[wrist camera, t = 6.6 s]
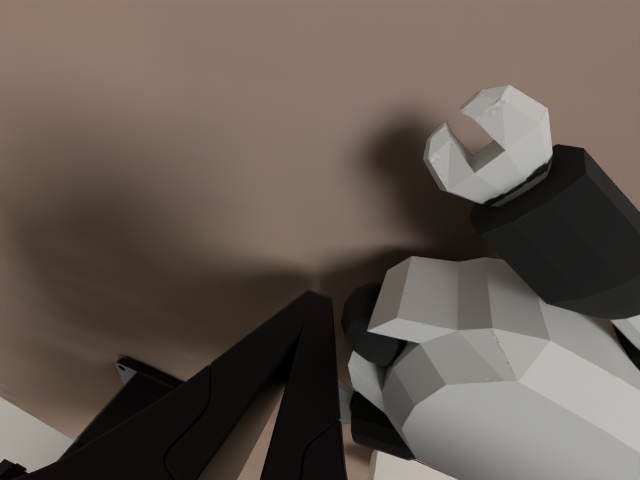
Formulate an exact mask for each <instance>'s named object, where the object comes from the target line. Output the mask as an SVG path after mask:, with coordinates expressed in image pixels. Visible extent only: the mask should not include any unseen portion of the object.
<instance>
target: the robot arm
mask: <svg viewBox="0 0 640 480" xmlns="http://www.w3.org/2000/svg"><path fill="white" fill-rule="evenodd" d="M115 366H116V368H117V371H118V373H119V375H120V378H121V380H122V383H123V385H124V386H123V387H122V388H121V389H120V391H119V392H118V393H117V394H116V395H115V396H114V397H113V398H112V399H111V401H110V402H109V403H108V404H107V405H106V406H105V407H104V408H103V409H102V411H101V412H100V413H99V414H98V415H97V416H96V417H95V418H94V419H93V421H92V422H91V423H90V424H89V425H88V426H87V427H86V428H85V429H84V431H83V432H82V433H81V434H80V435H79V436H78V437H77V439H76V440H75V442H74V443H73V444H72V445H71V446H70V447H69V448H68V449H67V450H66V452H65V453H64V454H63V455H62V456H61V457H60V458H59V459H58V460H57V461H56V462H54V463H52V464H50V465H48V466H46V467H44V468H41V469H39V470H36V471H34V472H31V473H27V472H26V471H27V469H26V468H25V467H23V466H21V465H19V464H18V463H17V464H14V463H12V462H9V461H8V460H6V459H4V460H3V461H2V462H1V463H0V480H237V478H238V476H239V475H240V473H241V471H242V469H243V467H244V465H245V463H246V461H247V459H248V458H249V456H250V454H251V452H252V450H253V448H254V446H255V444H256V442H257V440H258V439H259V437H260V435H261V433H262V431H263V429H264V427H265V425H266V423H267V422H268V420H269V418H270V416H271V414H272V412H273V410H274V408H275V406H276V404H277V403H278V401H279V399H280V397H281V395H282V393H283V391H284V394H283V397H282V401H281V405H280V408H279V412H278V416H277V419H276V423H275V427H274V430H273V434H272V437H271V441H270V445H269V448H268V452H267V456H266V459H265V463H264V467H263V470H262V474H261V477H260V480H348V479H347V472H346V465H345V456H344V446H343V435H342V423H341V421H340V419H341V411H340V398H339V384H338V371H337V358H336V344H335V331H334V318H333V304H332V299H331V298H330V297H328V296H325V295H322V294H319V293H317V292H314V291H311V290H307V291H305V292H304V293H302V294H301V295H300V296H298V297H297V298H296V299H294V300H293V301H292V302H291V303H289V304H288V305H287V306H285V307H284V308H283V309H281V310H280V311H279V312H277V313H276V314H275V315H273V316H272V317H271V318H269V319H268V320H267V321H266V322H264V323H263V324H262V325H260V326H259V327H258V328H256V329H255V330H254V331H252V332H251V333H250V334H248V335H247V336H246V337H244V338H243V339H242V340H240V341H239V342H238V343H237V344H235V345H234V346H233V347H231V348H230V349H229V350H227V351H226V352H225V353H223V354H222V355H221V356H219V357H218V358H217V359H215V360H214V361H213V362H212V363H211V365H207V366H206V367H205V368H203V369H202V370H201V371H199V372H198V373H197V374H196V375H194V376H193V377H191V378H190V379H189V380H187V381H186V382H184V383H183V384H180V383H178V382H176V381H174V380H172V379H169V378H167V377H165V376H163V375H161V374H158V373H156V372H154V371H152V370H150V369H148V368H145V367H143V366H141V365H139V364H137V363H134V362H132V361H130V360H128V359H126V358H120V359H119V360H118V361H117V362H116V363H115ZM284 389H285V390H284Z"/></svg>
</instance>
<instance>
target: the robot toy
mask: <svg viewBox="0 0 640 480" xmlns="http://www.w3.org/2000/svg"><path fill="white" fill-rule="evenodd" d="M461 108H462V109H461V111H460V112H462V113H464V114H465V115H467V116H469V117H471V118H473V119H474V120H475V121H476V122H477V123H478V124H479V125H480V126H481V127H482V128H483V129H484V130H485V131H486V132H487V133H488V134H489V135H490V136H491V137H492V138H494V139H495V140H494V141H492V142H491V143H490V144H489V145H487V146H486V147H485V148H483V149H482V150H481V151H479V152H478V153H477V154H476V155H474V156H472V155H471V154H470V152H469V151H468V150H467V149H466V148H465V147H464V146H463V144H462V143H461V142H460V141H459V140H458V139H457V138H456V136H455V135H454V134H453V133H452V132H451V130H450V128H449V125H448V123H447V121H445V122H444V123H443V124H442V125H440V126H439V127H438V128H437V129H436V130H435V131H434V132H433V133H432V134H431V135H430V137H429V138H428V139H427V143H426V148H425V152H424V157H423V161H424V162H425V164H426V166H427V167H428V169H429V171H430V173H431V174H432V176H433V178H434V180H435V181H436V183H437V185H438V187H439V188H440V190H443V191H446V192H448V193H451V194H454V195H457V196H459V197H462V198H465V199H468V200H470V201H473V202H475V204H474V207H473V210H472V213H471V216H470V219H469V221H470V222H471V224H472V225H473V226H474V228H475V229H476V230H477V232H478V233H479V235H480V236H481V237H482V238H483V239H484V240H485V241H486V242H487V243H488V244H489V245H490V246H491V247H492V248H493V249H494V250H495V251H496V252H497V253H498V254H499V255H500V257H501V258H502V259H503V260H501V259H494V258H487V257H483V258H478V259H472V260H467V261H461V262H455V261H447V260H439V259H432V258H424V257H416V256H411V257H409V258H408V259H406V260H404V261H403V262H401V263H399V264H397V265H396V266H394V267H392V268H390V269H389V270H387V273H386V276H385V279H384V282H383V283H368V284H366V285H363V286H360V287H359V288H357V289H356V290H355V291H354V292H353V293H352V294H351V296H350V297H349V298H348V299H347V301H346V302H345V304H344V308H343V314H342V320H341V323H342V328H343V331H344V335H345V338H346V341H347V342H348V343H349V345H350V346H351V347H352V349H353V352H352V355H351V358H350V361H349V363H348V368H349V372H350V376H351V381H352V385H353V388H355V389H356V390H357V392H356V391H354V390H353V389H352V388H350V387H349V386H347V385H346V384H344V383H343V382H342V381H340V380H339V379H338V384H339V398H340V411H341V419H340V421H341V423H342V424H348V423H351V434H352V438H353V441H354V442H355V443H356V444H359V445H362V446H365V447H368V448H371V449H374V450H377V451H380V452H383V453H386V454H389V455H392V456H395V457H398V458H401V459H404V460H407V461H410V460H414V459H417V460H420V461H422V462H424V463H426V464H428V465H430V466H432V467H434V468H436V469H438V470H440V471H442V472H444V473H446V474H448V475H450V476H452V477H454V478H456V479H458V480H640V212H639V211H638V210H637V209H636V207H635V206H634V205H633V204H632V203H631V202H630V201H629V199H628V198H627V197H626V196H625V195H624V194H623V193H622V192H621V190H620V189H619V188H618V187H617V186H616V185H615V184H614V182H613V181H612V180H611V179H610V178H609V177H608V176H607V174H606V173H605V172H604V171H603V170H602V169H601V168H600V166H599V165H598V164H597V163H596V162H595V161H594V160H593V158H592V157H591V156H590V155H589V154H588V153H587V152H586V150H585V149H584V148H579V147H572V146H566V145H560V144H557V145H555V146H553V147H552V143H551V133H550V124H549V115H548V108H546V107H544V106H543V105H541V104H540V103H538V102H536V101H535V100H533V99H532V98H530V97H528V96H527V95H525V94H523V93H522V92H520V91H519V90H517V89H515V88H514V87H512V86H511V85H506V86H501V87H495V88H490V89H484V90H481V91H479V92H477V93H476V94H475V95H473V96H472V97H471V98H470V99H469V100H468V101H467V102H466V103H465V104H464V105H462V106H461Z"/></svg>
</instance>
